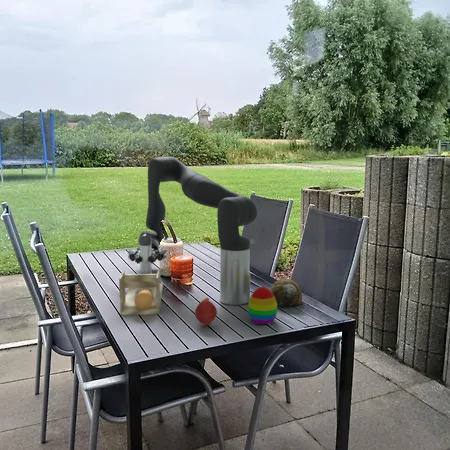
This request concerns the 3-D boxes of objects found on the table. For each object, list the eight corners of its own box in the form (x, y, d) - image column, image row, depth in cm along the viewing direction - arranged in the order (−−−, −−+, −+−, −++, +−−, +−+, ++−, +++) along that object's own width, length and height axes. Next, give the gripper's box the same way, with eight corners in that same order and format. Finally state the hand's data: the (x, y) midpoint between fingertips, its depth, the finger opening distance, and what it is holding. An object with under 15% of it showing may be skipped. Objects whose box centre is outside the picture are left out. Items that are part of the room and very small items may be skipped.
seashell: (280, 311, 137) (281, 285, 135) (263, 302, 145) (264, 277, 143) (310, 305, 142) (311, 280, 141) (292, 296, 150) (293, 273, 149)
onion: (197, 330, 122) (197, 301, 120) (193, 322, 127) (193, 295, 126) (218, 328, 123) (218, 300, 122) (213, 320, 129) (213, 293, 127)
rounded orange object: (156, 294, 136) (155, 298, 132) (148, 308, 136) (147, 313, 132) (141, 286, 135) (139, 290, 131) (133, 300, 136) (131, 305, 132)
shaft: (155, 277, 158) (154, 233, 155) (152, 289, 145) (151, 241, 142) (137, 278, 157) (136, 233, 155) (133, 290, 144) (132, 241, 142)
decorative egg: (262, 314, 134) (263, 281, 133) (282, 322, 128) (283, 287, 126) (241, 320, 129) (242, 286, 127) (262, 329, 123) (263, 293, 121)
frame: (162, 286, 159) (162, 256, 158) (158, 314, 133) (157, 277, 132) (131, 287, 158) (130, 256, 157) (120, 315, 132) (119, 278, 131)
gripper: (129, 239, 167) (122, 249, 150) (168, 239, 168) (166, 249, 151) (129, 259, 168) (123, 271, 151) (168, 258, 169) (166, 271, 153)
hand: (145, 260), depth 151 cm, fingers closed on shaft, 4 cm apart
